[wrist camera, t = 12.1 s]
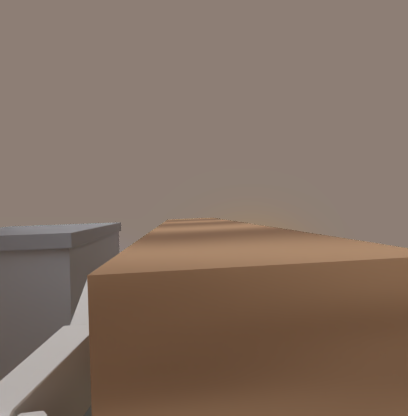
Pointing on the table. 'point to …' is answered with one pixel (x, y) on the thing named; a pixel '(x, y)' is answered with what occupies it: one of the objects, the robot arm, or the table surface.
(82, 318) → the robot arm
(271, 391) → the walnut rod
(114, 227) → the block
